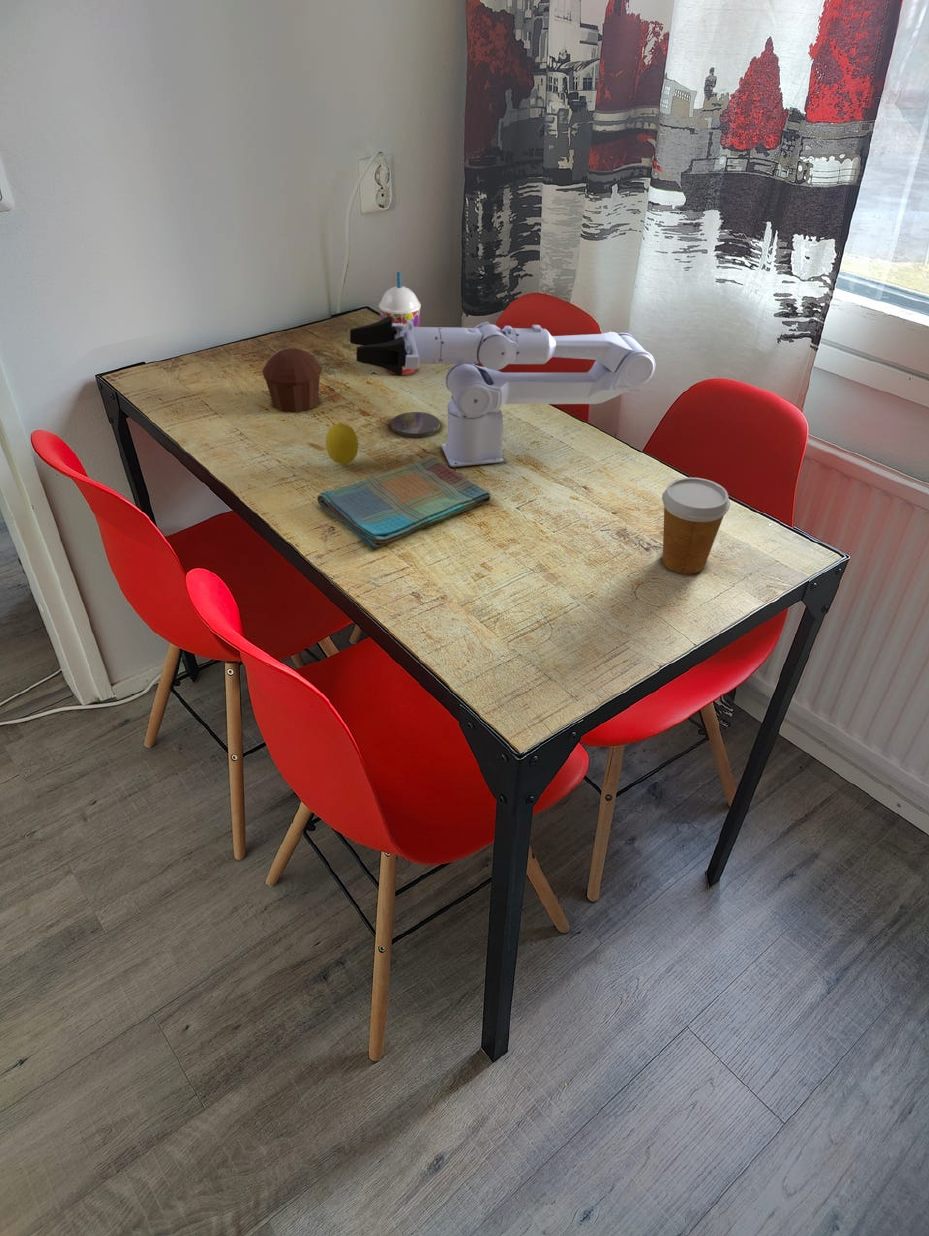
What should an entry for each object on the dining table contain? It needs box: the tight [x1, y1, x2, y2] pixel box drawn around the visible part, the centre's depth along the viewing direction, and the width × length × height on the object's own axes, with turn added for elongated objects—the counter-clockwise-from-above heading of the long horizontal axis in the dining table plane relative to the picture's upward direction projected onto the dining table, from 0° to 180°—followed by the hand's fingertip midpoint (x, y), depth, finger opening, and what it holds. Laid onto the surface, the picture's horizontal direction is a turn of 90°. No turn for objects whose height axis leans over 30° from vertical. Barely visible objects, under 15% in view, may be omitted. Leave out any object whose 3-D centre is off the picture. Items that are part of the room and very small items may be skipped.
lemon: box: [325, 422, 359, 467], centre depth 154 cm, size 6×6×8 cm
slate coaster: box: [390, 411, 441, 438], centre depth 168 cm, size 9×9×1 cm
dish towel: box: [316, 456, 491, 550], centre depth 146 cm, size 17×23×2 cm
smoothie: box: [378, 271, 421, 376], centre depth 182 cm, size 8×8×20 cm
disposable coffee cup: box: [661, 477, 731, 575], centre depth 131 cm, size 10×10×12 cm
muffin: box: [262, 347, 323, 413], centre depth 173 cm, size 12×11×10 cm
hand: (353, 344), depth 143 cm, fingers open, 7 cm apart
